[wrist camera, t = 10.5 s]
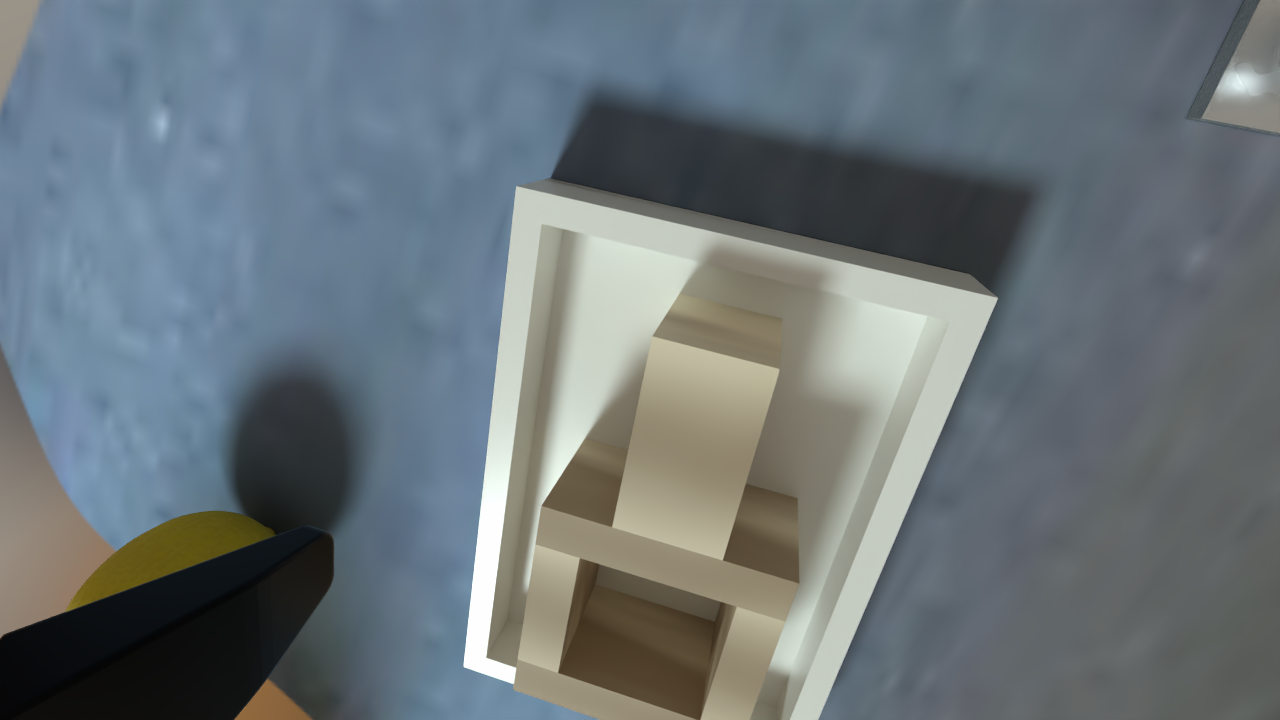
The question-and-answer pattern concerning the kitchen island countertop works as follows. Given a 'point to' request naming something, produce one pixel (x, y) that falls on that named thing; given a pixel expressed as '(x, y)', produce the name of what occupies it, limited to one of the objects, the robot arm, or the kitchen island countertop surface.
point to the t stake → (1245, 73)
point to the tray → (796, 418)
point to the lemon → (170, 551)
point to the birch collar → (669, 538)
